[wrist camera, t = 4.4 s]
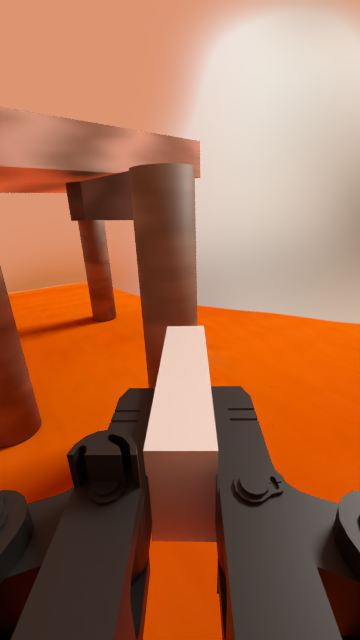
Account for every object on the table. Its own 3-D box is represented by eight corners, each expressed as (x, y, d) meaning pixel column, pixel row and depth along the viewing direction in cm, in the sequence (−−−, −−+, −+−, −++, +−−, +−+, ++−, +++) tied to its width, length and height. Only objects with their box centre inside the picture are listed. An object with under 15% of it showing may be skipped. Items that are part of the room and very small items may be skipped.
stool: (109, 312, 41) (89, 170, 34) (202, 351, 28) (199, 141, 22) (-46, 356, 30) (-118, 157, 23) (-4, 454, 17) (-134, 83, 11)
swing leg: (90, 380, 24) (55, 184, 18) (121, 366, 25) (98, 185, 20) (174, 448, 16) (156, 160, 11) (208, 422, 18) (207, 165, 13)
